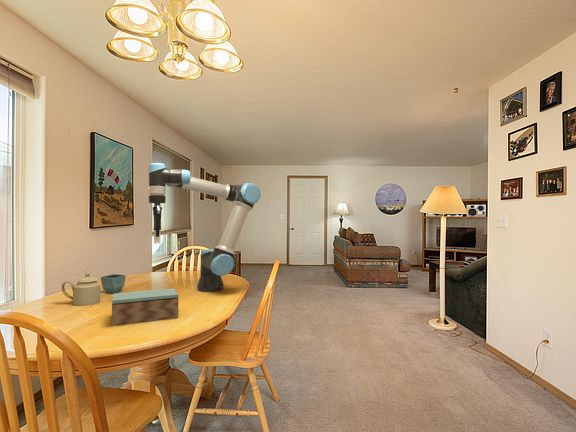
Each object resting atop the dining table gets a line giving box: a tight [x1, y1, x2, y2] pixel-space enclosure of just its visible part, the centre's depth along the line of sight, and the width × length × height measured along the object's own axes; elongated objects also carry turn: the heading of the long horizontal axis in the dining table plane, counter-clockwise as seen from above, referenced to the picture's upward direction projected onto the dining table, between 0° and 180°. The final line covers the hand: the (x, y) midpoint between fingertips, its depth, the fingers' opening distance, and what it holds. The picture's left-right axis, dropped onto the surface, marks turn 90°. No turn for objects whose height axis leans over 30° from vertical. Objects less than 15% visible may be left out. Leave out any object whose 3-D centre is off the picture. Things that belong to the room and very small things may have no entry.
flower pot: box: [100, 274, 127, 294], centre depth 167 cm, size 9×9×9 cm
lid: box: [111, 287, 179, 305], centre depth 128 cm, size 24×14×1 cm, turn 117°
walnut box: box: [111, 297, 179, 327], centre depth 128 cm, size 24×14×8 cm, turn 117°
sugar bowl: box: [61, 270, 102, 307], centre depth 146 cm, size 15×11×15 cm
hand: (157, 243), depth 151 cm, fingers closed
